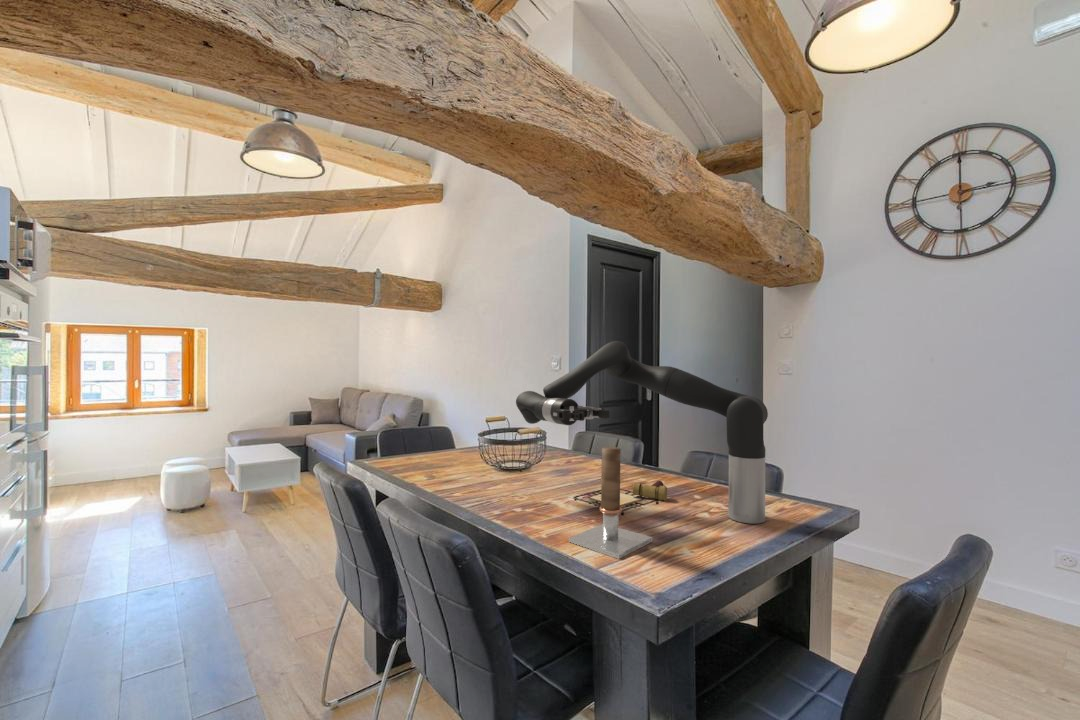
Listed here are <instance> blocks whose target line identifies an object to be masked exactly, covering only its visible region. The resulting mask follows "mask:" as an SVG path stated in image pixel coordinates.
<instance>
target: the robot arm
mask: <svg viewBox="0 0 1080 720" xmlns="http://www.w3.org/2000/svg"><path fill="white" fill-rule="evenodd" d="M602 371H605V372H606V374H607V375H609V376H610V377H612V378H615V379H618V380H621V381H625V382H629V383H631V384H636V385H638V386H640V387H643V388H645V389H647V390H649V391H651V392H654V393H656V394H659V395H661V396H663V397H665V398H667V399H670V400H673V401H674V402H677V403H680V404H684V405H687V406H690V407H695V408H698V409H704V410H707V411H711V412H714V413H716V414H719V415H721V416H723V417H725V418H726V442H727V443H726V444H727V447H728V509H727V510H728V515H727V516H728V518H729V519H731V520H733V521H735V522H738V523H739V522H740V523H744V524H763V523H765V521H766V447H765V443H764V442H765V441H764V424H765V423H766V421H767V420H768V417H769V416H768V415H769V413H768V408H767V407H766V404H765V403H764V402H763V401H762V400H761V399H759V398H757V397H754V396H751V395H747V394H743V393H739V392H736V391H733V390H729V389H726V388H723V387H721V386H718V385H716V384H714V383H712V382H710V381H708V380H706V379H704V378H701V377H700V376H698V375H696V374H693V373H690V372H688V371H685V370H683V369H679V368H677V367H674V366H673V367H672V366H669V365H667V366H666V365H664V366H663V365H661V366H659V365H658V366H657V365H655V366H653V365H648V364H645V363H642V362H640V361H638V360H636V359H634V358H633V357H631V355H630V351H629V348H628V346H627V345H626V344H625V343H624V342H622V341H619V340H614V341H610V342H608V343H606V344H605V345H603V346H601V347H600V348H599V349H598V350H597V351H596V352H594V353H593V354H591V356H589V357H587V359H585V360H584V361H583V362H581V363H580V364H579V365H578V366H576V367H575V368H574V369H571V371H569V372H568V373H566V374H564V375H562V376H561V377H559V378H558V379H556V380H554V381H552V382H551V383H549V384H547V385H546V386H544V387H543V389H542V391H543V395H542V394H541V393H538V392H536V391H532V390H527V391H523V392H521V393H519V394H518V396H516V399H515V406H516V407H517V409H518V411H519V413H520V414H521V415H522V417H523V418H524V420H525V421H526V423H528V424H530V425H531V424H532V425H533V424H534V425H535V424H538V423H540V422H541V421H543V422H550V423H552V424H555V425H556V424H558V425H564V426H572V425H574V424H575V423H576V422H577V421H580V422H584V421H585V420H593V419H595V418H596V419H607V420H608V419H610V410H607V409H605V407H593V406H584V405H579V404H578V403H577V401H576V400H574V399H572V397H573V396H575V395H576V394H577V393H578V392H579V391H581V389H582V388H583V387H584V386H585V385H586V384H587V382H589V381H590V379H592V378H593V377H594V376H595V375H596V374H598V373H600V372H602Z"/></svg>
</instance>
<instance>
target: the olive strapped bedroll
mask: <svg viewBox="0 0 1080 720" xmlns="http://www.w3.org/2000/svg"><path fill="white" fill-rule="evenodd" d="M633 494H634V495H640V496H644V497H648V498H647V499H649V498H654V499H653V500H658V501H660V500H664V501H663V502H665V500H666V501H667V499H668V488H667V486H666V485H665V486H664V483H663V481H662V480H656V482H654V483H652V484H651V485H649V484H648V485H647V484H642V483H640V482H634V483H633V486H632V495H633Z"/></svg>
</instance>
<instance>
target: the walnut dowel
mask: <svg viewBox="0 0 1080 720" xmlns="http://www.w3.org/2000/svg"><path fill="white" fill-rule="evenodd" d="M621 450H622V449H621V448H619V447H615V446H604V447H601V476H600V477H601V480H600V485H601V486H600V487H601V491H600V492H601V493H600V495H601V496H600V500H601V501H600V506H601V508H602V509H604V510H608V511H616V510H619V509H620V507H621V457H622V455H621V453H622V452H621Z"/></svg>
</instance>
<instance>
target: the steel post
mask: <svg viewBox="0 0 1080 720" xmlns="http://www.w3.org/2000/svg"><path fill="white" fill-rule="evenodd" d="M599 511H600V512H601V513H602V524H600V525H597V526H594V527H592V528H590V529H586V530H585V531H582V532H580V533H577V534H575V535H573V536H570V537H569V538H568V543H570V542H571V543H570V544H573V543H574V544H573V545H576V544H577V546H579V545H580V546H579V547H582V546H583V547H582V548H585V547H586V548H585V549H588V548H589V549H588V550H591V549H592V550H591V551H594V550H595V552H596V553H600V554H603V555H606V556H608V557H612V558H615V559H618V560H619V559H622V558H623V557H625V556H627V555H629V554H631V553H632V552H636V551H637V550H638V549H640V548H643V547H645V546H646V545H648V544H650V543H652V542H653V537H652V536H649V535H645V534H642V533H639V532H638V533H637V532H635V531H631V530H628V529H624V528H620V527H619V514H621V513H623V507H621V506H620V509H619V510H616V511H608V510H604V509H602V508H601V505H600V506H599Z"/></svg>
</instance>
